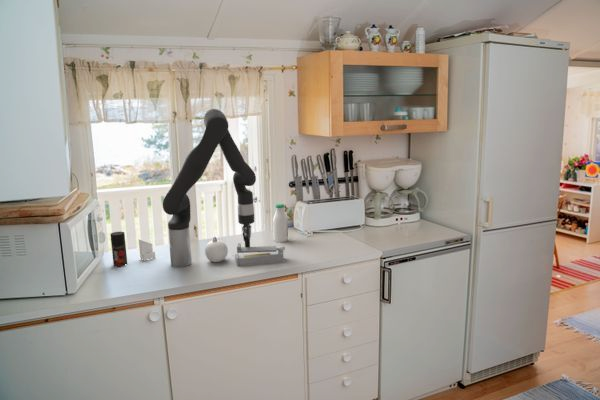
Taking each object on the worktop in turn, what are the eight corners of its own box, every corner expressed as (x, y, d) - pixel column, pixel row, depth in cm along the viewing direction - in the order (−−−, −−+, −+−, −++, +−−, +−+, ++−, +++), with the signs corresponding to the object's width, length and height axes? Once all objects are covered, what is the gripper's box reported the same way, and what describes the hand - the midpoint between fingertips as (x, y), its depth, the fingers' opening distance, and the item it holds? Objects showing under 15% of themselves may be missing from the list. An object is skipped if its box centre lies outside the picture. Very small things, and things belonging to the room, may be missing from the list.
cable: (245, 264, 205) (245, 258, 205) (244, 261, 209) (244, 255, 208) (271, 261, 209) (271, 255, 208) (269, 259, 212) (269, 252, 211)
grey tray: (237, 267, 203) (237, 257, 202) (232, 256, 218) (232, 247, 217) (285, 261, 209) (285, 252, 208) (277, 251, 224) (277, 242, 223)
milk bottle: (286, 243, 237) (285, 206, 233) (271, 242, 239) (270, 205, 235) (289, 239, 245) (288, 202, 241) (275, 238, 246) (274, 202, 242)
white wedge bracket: (131, 256, 212) (138, 239, 214) (149, 262, 220) (156, 245, 221) (135, 258, 210) (142, 240, 212) (153, 263, 217) (160, 246, 219)
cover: (285, 251, 209) (285, 245, 208) (237, 252, 208) (236, 247, 207) (284, 247, 215) (284, 241, 214) (238, 248, 214) (237, 243, 213)
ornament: (210, 266, 204) (209, 241, 202) (202, 260, 213) (201, 235, 210) (231, 262, 210) (230, 237, 207) (222, 256, 218) (221, 232, 216)
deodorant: (128, 262, 212) (125, 231, 209) (126, 266, 207) (122, 234, 204) (115, 263, 211) (112, 232, 208) (112, 267, 206) (109, 235, 203)
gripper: (252, 216, 205) (254, 252, 209) (255, 209, 218) (256, 243, 222) (236, 216, 205) (237, 252, 209) (239, 209, 218) (241, 243, 222)
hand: (247, 248), depth 215 cm, fingers closed
